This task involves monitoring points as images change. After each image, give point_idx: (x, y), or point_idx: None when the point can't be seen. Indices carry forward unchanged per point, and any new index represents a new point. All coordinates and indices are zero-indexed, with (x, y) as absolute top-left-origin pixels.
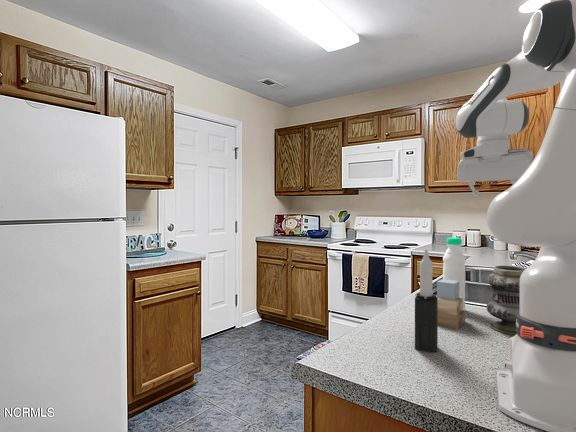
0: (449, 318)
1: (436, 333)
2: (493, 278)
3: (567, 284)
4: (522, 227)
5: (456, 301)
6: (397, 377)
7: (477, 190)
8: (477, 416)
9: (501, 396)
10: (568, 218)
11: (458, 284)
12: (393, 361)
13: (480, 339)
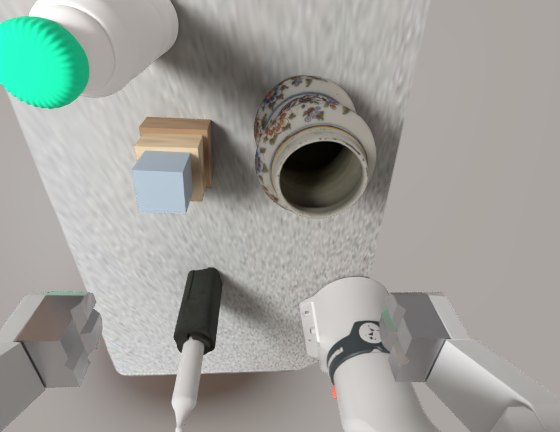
0: None
1: (219, 303)
2: (276, 203)
3: None
4: None
5: (200, 196)
6: (215, 350)
7: (80, 381)
8: (293, 363)
9: (308, 345)
10: None
11: (184, 175)
12: None
13: (261, 206)
